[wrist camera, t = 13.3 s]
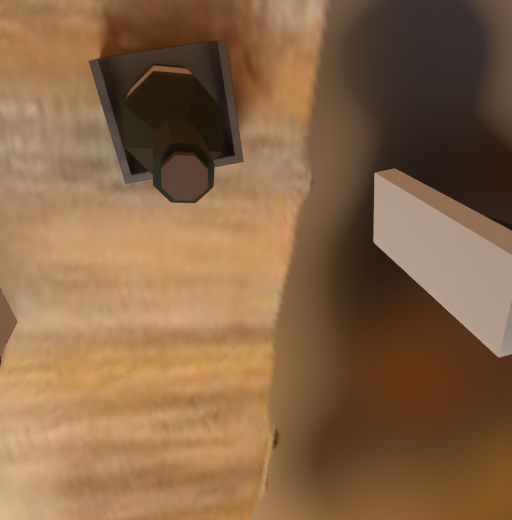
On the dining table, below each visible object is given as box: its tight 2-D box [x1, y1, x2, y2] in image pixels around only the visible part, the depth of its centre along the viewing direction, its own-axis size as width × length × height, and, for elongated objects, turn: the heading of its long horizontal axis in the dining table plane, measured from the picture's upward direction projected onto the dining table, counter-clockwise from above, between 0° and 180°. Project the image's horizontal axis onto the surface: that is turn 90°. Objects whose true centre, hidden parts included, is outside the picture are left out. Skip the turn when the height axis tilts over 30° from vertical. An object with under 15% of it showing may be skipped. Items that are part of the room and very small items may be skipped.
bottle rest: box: [89, 40, 244, 184], centre depth 44 cm, size 13×12×8 cm
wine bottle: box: [122, 64, 224, 203], centre depth 34 cm, size 8×8×30 cm
